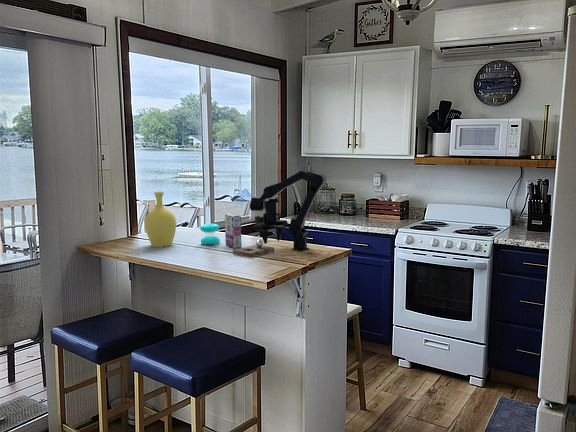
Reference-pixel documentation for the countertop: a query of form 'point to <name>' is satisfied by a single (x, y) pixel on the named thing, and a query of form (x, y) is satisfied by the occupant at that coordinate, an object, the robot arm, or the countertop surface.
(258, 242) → the steel ball
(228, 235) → the candy bar box
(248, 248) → the walnut plate
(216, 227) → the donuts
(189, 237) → the countertop surface
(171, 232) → the vase
